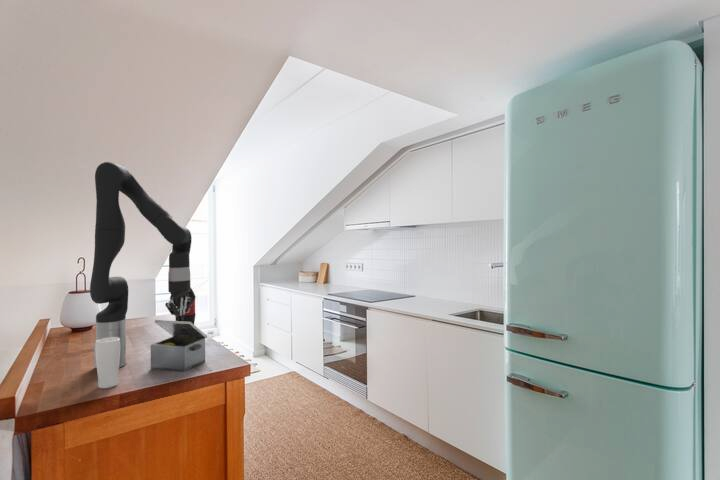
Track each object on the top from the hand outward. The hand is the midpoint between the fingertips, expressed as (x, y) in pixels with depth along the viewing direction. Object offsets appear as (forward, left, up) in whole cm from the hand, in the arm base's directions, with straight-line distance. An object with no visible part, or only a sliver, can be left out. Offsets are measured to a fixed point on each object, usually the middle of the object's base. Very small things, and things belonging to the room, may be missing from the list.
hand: (179, 325), depth 142 cm
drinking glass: (-9, -23, -15) cm, 29 cm away
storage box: (0, -1, -15) cm, 15 cm away
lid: (0, +1, -2) cm, 2 cm away
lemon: (-1, -1, -13) cm, 13 cm away
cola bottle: (-18, +27, -15) cm, 36 cm away
